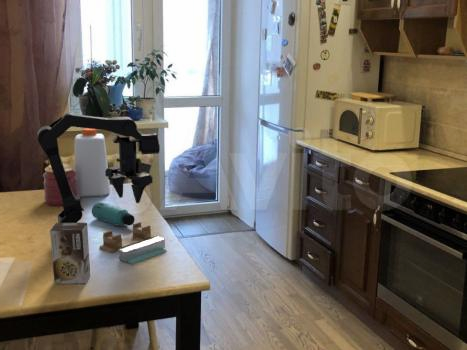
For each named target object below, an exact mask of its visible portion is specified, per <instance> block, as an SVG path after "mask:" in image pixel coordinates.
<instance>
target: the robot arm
mask: <svg viewBox="0 0 467 350" xmlns="http://www.w3.org/2000/svg"><path fill="white" fill-rule="evenodd" d="M71 127H72V128H80V129H82V128H83V129H84V128H89V129H96V130H97V131H98V130H99V131H100V130H101V131H107V132H111V133H114V134H116V136H115V137H114V138H113V139H112V142H113V144H118V158H116V162H117V163H118V162H119V165H116V166H112V167H108V168H107V169H106V171H105V175H106V177H108V179H109V182H110V184H111V185H112V187H113V188H114V190H115V192H116V194H117V195H118V197H119V198H120V199H121V198H123V196H124V181H125V180H126V179H129V180H130V181H131V184H130V185H131V186H130V187H131V190H132V194H133V197H134V200H135V203H136V204H140V202H141V200H142V196H143V192H144V191H145V189H146V187H147V186H150V185H151V184H153V183H154V182H153V181H154V180H153V179H154V178H153V176H152V175H151V174H150V172H151V168H152V164H148V163H146V162H141V161H142V160H141V159H140V158H139V157H137V155H138V153H141V155H142V156H143V155H157V154H160V151H161V150H160V143H159V142H160V141H159V138H158V137H159V135H158V134H157V133H149V134H142V133H141V132H140V131H139V130H138V127H137V124H136V122H135V121H134V119H132V118H131V117H130V116H116V117H115V116H114V117H100V116H92V115H83V114H76V113H71V112H66V113H64V114H63V115H62V116H60V117H59V118H57V119H56V120H55V121H53V122H51V123H50V124H49V125H44V126H42V127H40V128H39V129H38V131H37V137H36V138H37V142H38V144H39V145H40V147H41V150H42V151H43V152H44V154H45V155H46V157H47V159H48V161H49V165H51V168H52V171H53V173H54V176H55V179H56V182H57V185H58V188H59V191H60V194H61V196H62V203H63V206H62V208H63V210H61V211H60V213H59V214H58V215H57V223H79V221H81V219H82V218H83V212H84V211H85V210H84V206H83V203H82V202H81V197H79V194H78V195H76V196H75V195H74V194H73V192H72V190H71V187H70V184H69V181H68V178H67V175H66V172H65V169H64V166H63V163H64V162H63V161H62V158H61V155H60V149H59V144H58V143H59V142H58V138H60V137H61V136H62V135H63V134H65V132H67V131H68V130H69V129H70V128H71ZM130 137H132V138H130ZM137 151H138V153H137Z"/></svg>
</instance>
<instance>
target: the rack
mask: <svg viewBox="0 0 467 350" xmlns="http://www.w3.org/2000/svg"><path fill="white" fill-rule="evenodd" d="M153 238H155V236H154V235H152V231H151V225H150V224H148V225H142V222H141V221H138V222H134V223H133V224H132V235H129V236H126V237H122V234H121V233H119V234H113V230H111V229H110V230H107V231H103V233H102V243H103V244H101V245H100V244H99V249H100V250H101V251H104V252H106V253H109V254H113V253H116V252H117V253H118V252H119V250H120V249H123V248H126V247H129V246H132V245H135V244H138V243H141V242H144V241H147V240H150V239H153Z"/></svg>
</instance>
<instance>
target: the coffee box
mask: <svg viewBox="0 0 467 350" xmlns="http://www.w3.org/2000/svg"><path fill="white" fill-rule="evenodd" d="M49 235H50V247H51V257H52V259H51V260H52V271H53V284H54V285H68V284H70V285H71V284H72V285H74V284H76V283H78V285H79V283H85V284H87V283H88V281H89V279H90V277H91V266H90V265H91V264H90V262H91V261H90V250H89V249H90V247H89V233H88V222H77V223H58V222H56V223H54V225H53V226H52V227H51V229H50V230H49ZM85 284H84V285H85Z"/></svg>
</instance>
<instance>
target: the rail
mask: <svg viewBox="0 0 467 350" xmlns="http://www.w3.org/2000/svg"><path fill="white" fill-rule="evenodd" d="M162 248H163V249H165V248H166V240H165V238H163V237H161V236H157V237H154V238H153V239H150V240H147V241H144V242H141V243H138V244H135V245H132V246H129V247H126V248H123V249H120V250H119V251H118V256H119V258H118V259H119V260H121V261H123V262H126V261H128V260H131V259H134V258H137V257H139V256H142V255H145V254H148V253H151V252H154V251H157V250H159V249H162Z"/></svg>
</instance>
